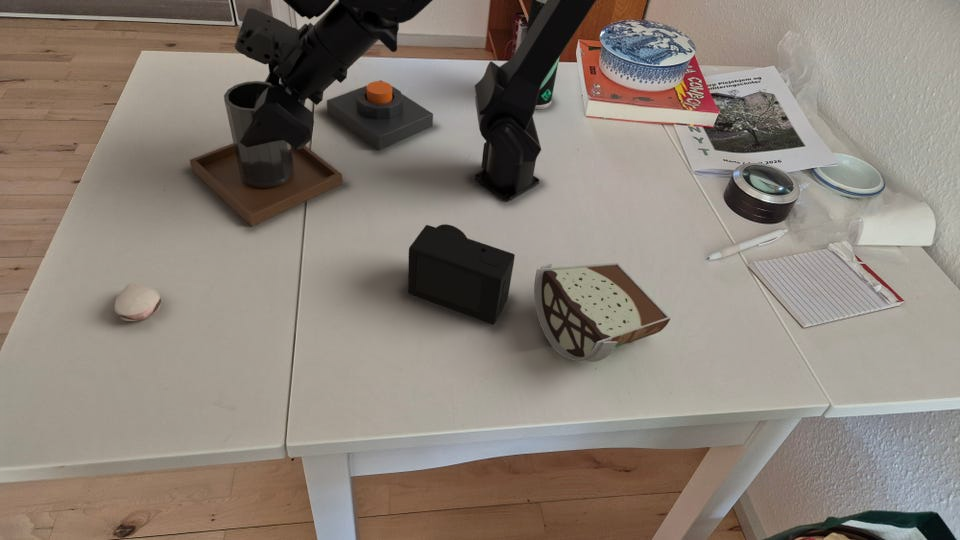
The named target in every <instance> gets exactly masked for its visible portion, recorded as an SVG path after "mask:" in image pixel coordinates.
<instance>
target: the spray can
mask: <svg viewBox="0 0 960 540" xmlns="http://www.w3.org/2000/svg"><path fill="white" fill-rule="evenodd" d="M546 1H547V0H530V3H529V9H528V10H529V11H528V18H527V25H526V26H527V27H526V31H525V35H526V34H527V33H528V31H529V29H530V28H531V26H532V24H533V23H534V21H535V20H536V18H537V16H538V15H539V13H540V11H541V10H542V8H543V6H544V5H545V3H546ZM560 57H561V56H560ZM560 57H559V58H558V60H557V61H556V63H555V64H554V66H553V67H552V69H551V70H550V72H549V73H548V75H547V76H546V78H545V79H544V81H543V83H542V85H541V87H540V91H539V95H538V99H537V103H536V107H535V110H542V109H546V108H549V107H550V106H551V104H552V102H553V95H554V90H555V85H556V79H557V74H558V68H559V62H560Z"/></svg>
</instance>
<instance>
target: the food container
mask: <svg viewBox="0 0 960 540" xmlns="http://www.w3.org/2000/svg"><path fill="white" fill-rule="evenodd" d="M533 285H534V288H533V289H534V290H533V295H534V304H535V310H536V314H537V319H538V322H539V325H540V328H541V329H542V331H543V334H544V336H545V338H546V339H547V341H548V342H549V344H550V345H551V347H552V348H553V349H554V350H555V351H556V352H557V353H558V354H560V355H561V356H562V357H564V358H566V359H569V360H573V361H576V362H594V363H595V362H599V361H602V360H604V359H606V358H607V357H608V356H610V355H611V354H612V352H613V351H614V349H616V348H619V347H621V346H624V345H627V344H630V343H633V342H636V341H639V340H641V339H645V338H648V337H650V336H652V335H655V334H658V333H660V332H662V331H663V330H664V329H665V328H666V327H667V325H668V324H669V322H670V320H671V319H672V318H671V316H670V315H668V314H667V312H666V311H665V310H663V308H661V306H660V305H659V304H658V303H657V302H656V301H655V300H654V299H653V297H651V296H650V295H649V293H648V292H646V291H645V289H643V287H642V286H641V285H639V283H638V282H636V280H635V279H634V278H633V276H631V275H630V274H629V273H628V271H626V270H625V269H624V268H623V266H622V265H620V264H619V262H612V263H596V264H584V265H569V266H557V267H556V266H555V267H552V264H551V263H549V264H546V265H543V266H540V268H537V269H536V271H535V277H534V283H533Z"/></svg>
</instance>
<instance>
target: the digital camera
mask: <svg viewBox="0 0 960 540" xmlns="http://www.w3.org/2000/svg"><path fill="white" fill-rule="evenodd" d="M515 256H516V255H515V254H514V253H512V252H510V251H507V250H503V249H501V248H497V247H495V246H491V245H489V244H485V243H483V242H479V241H477V240H474V239H471V238H468V236H467V235H466V234H465V233H464V231H462V230H461V229H459V228H458V227H456V226H454V225H451V224H448V223H447V224H445V223H444V224H440V225H437V226H436V227H435V226H432V225H429V224H426V225H424V227H423V228H422V229H421V231H420V233H419V234H418V235H417V236H416V238H414V240H413V242H412V243H411V245H409V248H408V272H407V273H408V274H407V275H408V277H407V278H408V283H407V285H408V286H407V287H408V288H407V290H408V291H407V292H408V294H409V295H411V296H415V297H417V298H420V299H423V300H426V301H428V302H431V303H434V304H437V305H439V306H442V307H445V308H448V309H450V310H453V311H456V312H458V313H462V314H463V315H467V316H470V317H473V318H476V319H478V320H481V321H482V322H483V321H484V322H487V323H489V324H492V325H495V324H496V322H497V320H498V318H499V317H500V315H501V313H502V311H503V309H504V307H505V305H506V303H507V301H508V298H509V293H510V287H511V282H512V275H513V269H514V263H515V259H516V257H515Z"/></svg>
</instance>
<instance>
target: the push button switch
mask: <svg viewBox="0 0 960 540" xmlns="http://www.w3.org/2000/svg"><path fill="white" fill-rule="evenodd" d="M379 81H382V80H381V79H379ZM366 87H367V85H364V86H361V87H359V88H356V89H353V90H351V91H348V92H346V93H343V94H340V95H337V96H335V97H332V98H330V99H327V100H326V109H327V111H326V112H327V114H328V115H329V116H331V117H332V118H333V119H335V120H336V121H337V122H339V123H340V124H341V125H343V126H344V127H346V128H347V129H348V130H349V131H351V132H352V133H354V134H355V135H357V136H358V137H359V138H361V139H362V140H364V141H365V142H366V143H368V144H369V145H371V146H372V147H373V148H374V149H376V150H377V151H381V150H384V149H385V148H388V147H390V146H392V145H393V146H394V144H397V143H399V142H401V141H404V140H406V139H408V138H410V137H412V136H415V135H417V134H419V133H421V132H423V131H426V130H429V129H431V128H433V124H434V113H432V112H431V111H429V110H428V109H426V108H425V107H424V106H421V105H420V104H418V102H416V101H414V100H413V99H410V98H409V97H408V96H406V95H405V94H403V93H402V91H400V90H399V89H398V88H396V87H394V86H392V101H390V102H388V103H383V104H377V103H372V102H369V101H368V100H367V89H366Z"/></svg>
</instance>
